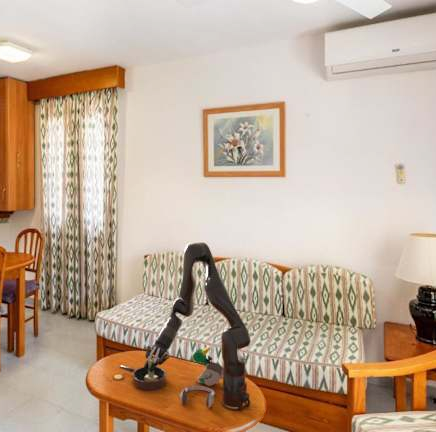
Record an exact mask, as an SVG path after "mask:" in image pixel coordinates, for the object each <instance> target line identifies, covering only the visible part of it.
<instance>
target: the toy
mask: <svg viewBox="0 0 436 432" xmlns="http://www.w3.org/2000/svg"><path fill="white" fill-rule="evenodd" d="M210 350H211V346H208V347H205V348H204V349H201V348H197V349H196V350H195V352H193V354H192V359H193V361H194V362H195V363H199V364H201V363H202V365H203V366H204V367H205V368H204V370H203V371H202V372H201V374H200V375H199V376H198V378H197V380H198V381H197V383H198V384H204V385H206V386H207V387H210V386H213V385H216V384H218V385H219V386H220V387H221V388H222V389H223V383H221V382H219V381H220V380H221V379H222V380H223V366H222V365H221V364H220V363H218V362H213V361H212V360H213V358H212V357H211V356H210V355H208V356H206V355H207V354H208V353H209V352H210Z"/></svg>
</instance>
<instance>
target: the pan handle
mask: <svg viewBox="0 0 436 432" xmlns="http://www.w3.org/2000/svg"><path fill="white" fill-rule="evenodd" d="M119 369H121V370H124V371H126V372H129V373H132V374H133V372H134V371H135V370H136V369H134V368H131V367H129V366H125V365H123V364H120V365H119Z"/></svg>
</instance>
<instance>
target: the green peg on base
mask: <svg viewBox="0 0 436 432" xmlns="http://www.w3.org/2000/svg"><path fill="white" fill-rule="evenodd" d="M152 363H154V359H149V360H148V374H147V375H146V376H144V381H146V382H150V381H157V380H158V376H156V375H154V371H152V372H150V371H149V368H150V366H151V364H152Z"/></svg>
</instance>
